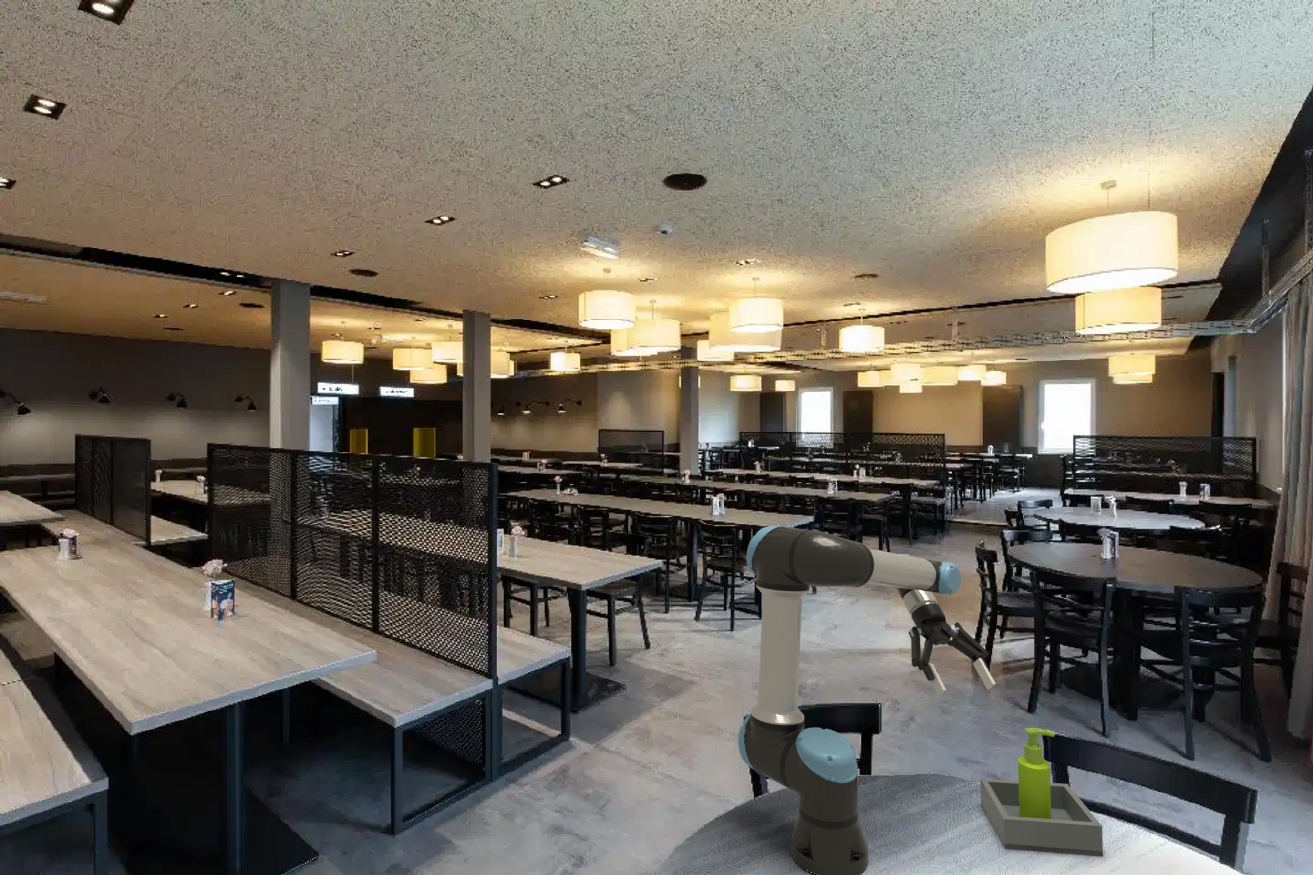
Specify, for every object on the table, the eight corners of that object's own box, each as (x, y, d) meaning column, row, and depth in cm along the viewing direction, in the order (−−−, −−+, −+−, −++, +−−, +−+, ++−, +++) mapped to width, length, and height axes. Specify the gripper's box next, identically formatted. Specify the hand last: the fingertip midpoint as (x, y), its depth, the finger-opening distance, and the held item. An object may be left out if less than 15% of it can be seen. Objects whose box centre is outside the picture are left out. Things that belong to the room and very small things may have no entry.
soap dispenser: (1061, 833, 137) (1058, 736, 137) (1024, 830, 138) (1022, 734, 138) (1050, 817, 143) (1048, 724, 142) (1015, 814, 144) (1013, 722, 144)
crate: (1004, 848, 134) (1003, 818, 134) (981, 804, 150) (980, 778, 150) (1102, 856, 131) (1102, 825, 131) (1068, 810, 146) (1067, 783, 146)
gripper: (958, 613, 175) (1003, 691, 160) (875, 621, 168) (913, 702, 154) (972, 598, 170) (1020, 676, 155) (887, 605, 163) (928, 688, 149)
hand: (967, 689), depth 154 cm, fingers open, 13 cm apart
